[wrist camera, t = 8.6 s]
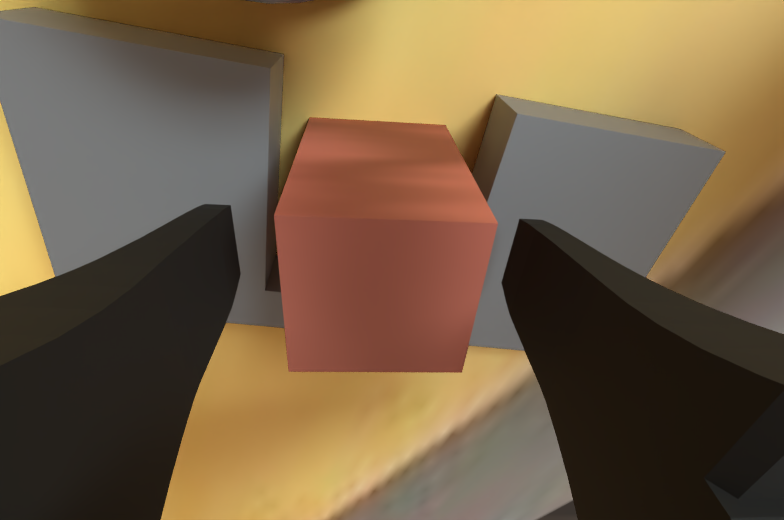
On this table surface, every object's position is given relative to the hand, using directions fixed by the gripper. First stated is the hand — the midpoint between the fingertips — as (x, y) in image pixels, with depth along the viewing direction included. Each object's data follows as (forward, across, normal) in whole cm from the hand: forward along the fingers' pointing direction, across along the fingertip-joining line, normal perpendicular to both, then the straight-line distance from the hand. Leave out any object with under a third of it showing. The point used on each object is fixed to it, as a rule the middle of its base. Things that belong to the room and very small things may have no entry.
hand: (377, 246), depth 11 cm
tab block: (+3, 0, 0) cm, 4 cm away
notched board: (+3, 0, 0) cm, 3 cm away
